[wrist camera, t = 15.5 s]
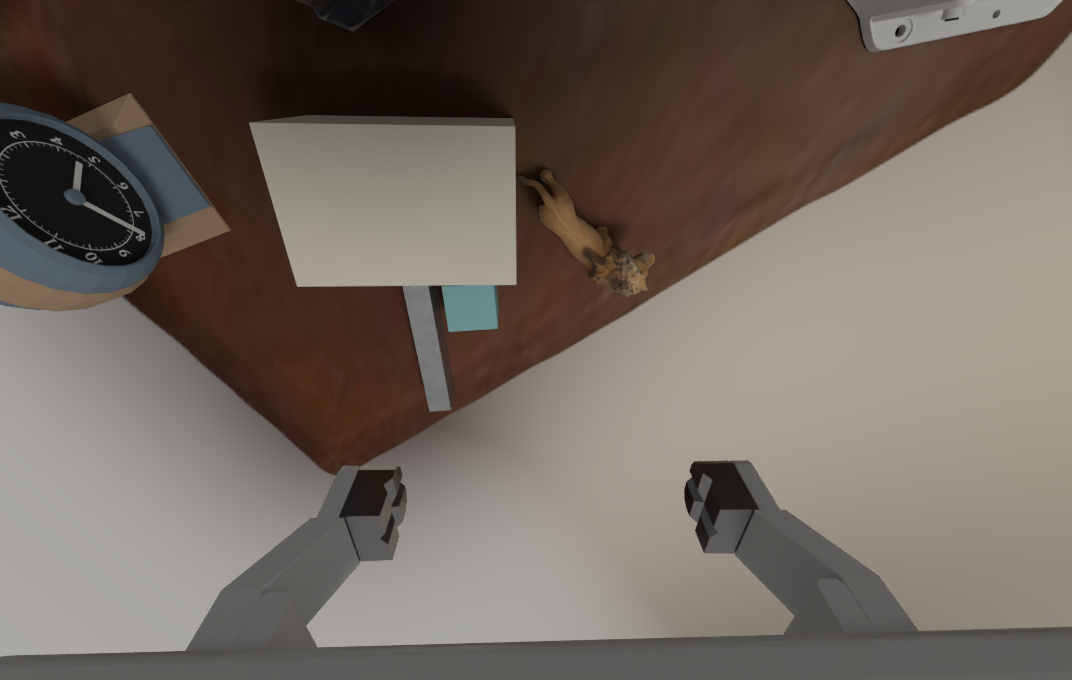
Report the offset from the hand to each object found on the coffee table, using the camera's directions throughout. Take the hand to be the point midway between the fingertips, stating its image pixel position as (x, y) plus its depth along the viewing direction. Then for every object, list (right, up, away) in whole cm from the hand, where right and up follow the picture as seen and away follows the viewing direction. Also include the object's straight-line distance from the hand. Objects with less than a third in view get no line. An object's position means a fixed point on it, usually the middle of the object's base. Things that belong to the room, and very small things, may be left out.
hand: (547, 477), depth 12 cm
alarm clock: (-37, +18, +27) cm, 49 cm away
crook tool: (-10, +5, +37) cm, 38 cm away
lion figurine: (+4, +16, +31) cm, 35 cm away
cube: (-7, +10, +34) cm, 36 cm away
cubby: (-11, +19, +29) cm, 36 cm away
